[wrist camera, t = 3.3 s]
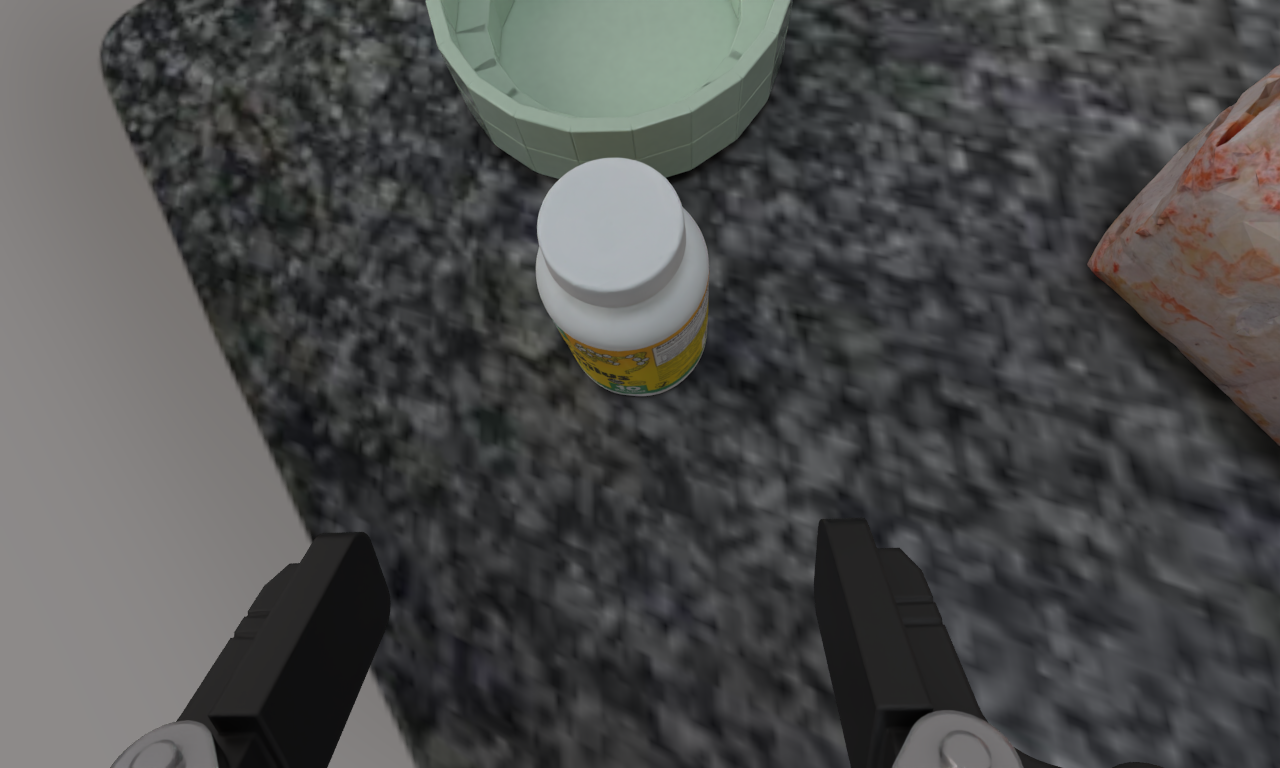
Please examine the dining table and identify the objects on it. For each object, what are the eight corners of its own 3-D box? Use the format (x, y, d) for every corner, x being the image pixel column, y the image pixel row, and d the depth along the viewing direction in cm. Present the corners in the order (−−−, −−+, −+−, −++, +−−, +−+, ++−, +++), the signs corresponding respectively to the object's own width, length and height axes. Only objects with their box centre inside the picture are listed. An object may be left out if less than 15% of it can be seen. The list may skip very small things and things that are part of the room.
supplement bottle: (734, 331, 28) (754, 217, 18) (639, 428, 27) (611, 359, 18) (638, 246, 29) (611, 98, 20) (544, 336, 28) (471, 228, 19)
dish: (505, 236, 30) (472, 180, 25) (433, -27, 33) (393, -115, 29) (827, 135, 30) (851, 62, 25) (721, -116, 33) (725, -218, 29)
